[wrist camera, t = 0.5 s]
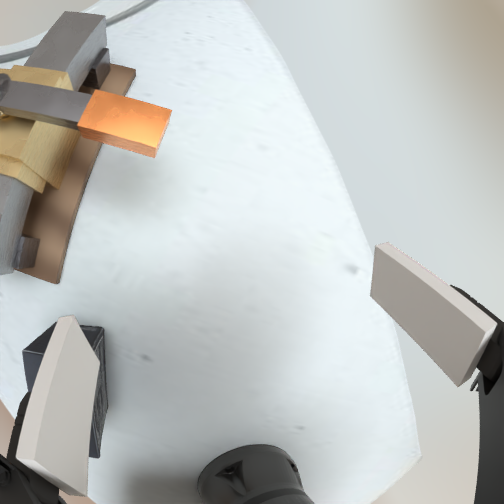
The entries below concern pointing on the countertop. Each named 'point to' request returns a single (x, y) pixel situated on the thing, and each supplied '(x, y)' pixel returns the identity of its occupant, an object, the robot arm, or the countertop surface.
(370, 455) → the countertop surface
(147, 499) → the countertop surface
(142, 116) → the valve lever
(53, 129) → the valve
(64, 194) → the base board
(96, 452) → the small box
